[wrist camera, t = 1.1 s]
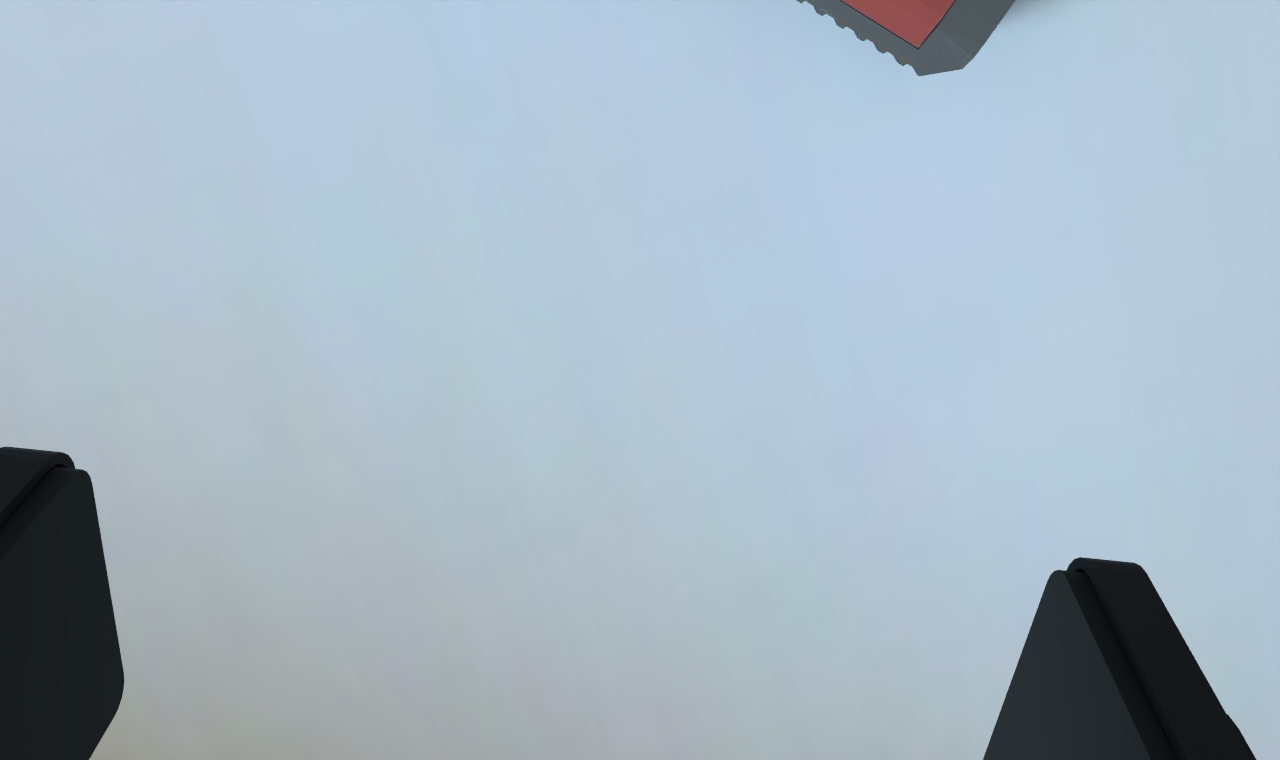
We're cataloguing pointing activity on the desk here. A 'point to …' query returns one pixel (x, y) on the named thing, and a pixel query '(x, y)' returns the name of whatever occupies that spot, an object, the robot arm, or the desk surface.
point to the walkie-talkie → (920, 28)
